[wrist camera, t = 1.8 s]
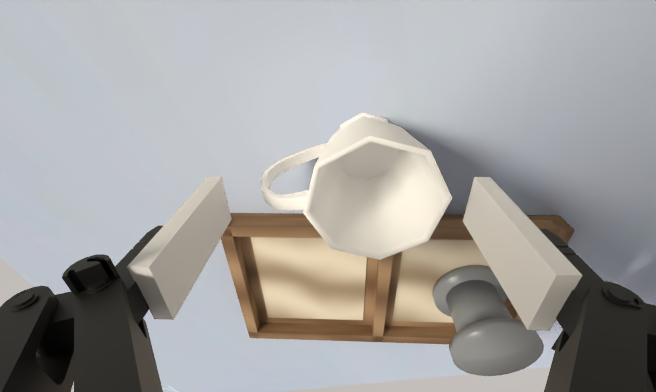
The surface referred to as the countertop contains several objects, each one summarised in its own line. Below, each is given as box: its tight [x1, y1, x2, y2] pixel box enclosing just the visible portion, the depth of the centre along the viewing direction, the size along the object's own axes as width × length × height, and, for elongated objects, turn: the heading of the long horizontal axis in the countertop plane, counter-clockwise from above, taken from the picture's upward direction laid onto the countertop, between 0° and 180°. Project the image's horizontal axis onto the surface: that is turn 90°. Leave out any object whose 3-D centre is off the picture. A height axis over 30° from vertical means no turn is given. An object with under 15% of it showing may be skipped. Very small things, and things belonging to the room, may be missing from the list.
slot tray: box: [221, 213, 574, 344], centre depth 27 cm, size 15×27×2 cm, turn 92°
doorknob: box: [432, 265, 544, 376], centre depth 24 cm, size 6×6×6 cm
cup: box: [261, 112, 452, 260], centre depth 17 cm, size 7×10×8 cm
